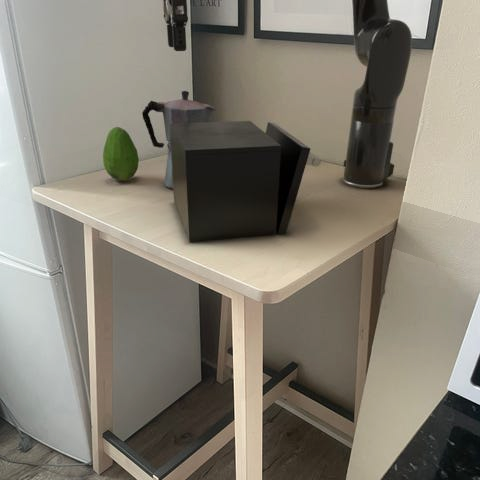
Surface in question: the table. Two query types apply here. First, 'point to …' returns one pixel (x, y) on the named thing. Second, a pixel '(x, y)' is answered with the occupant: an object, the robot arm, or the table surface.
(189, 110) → the moka pot
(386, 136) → the robot arm
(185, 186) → the oven
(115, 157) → the avocado
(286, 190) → the oven door
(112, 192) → the table surface
